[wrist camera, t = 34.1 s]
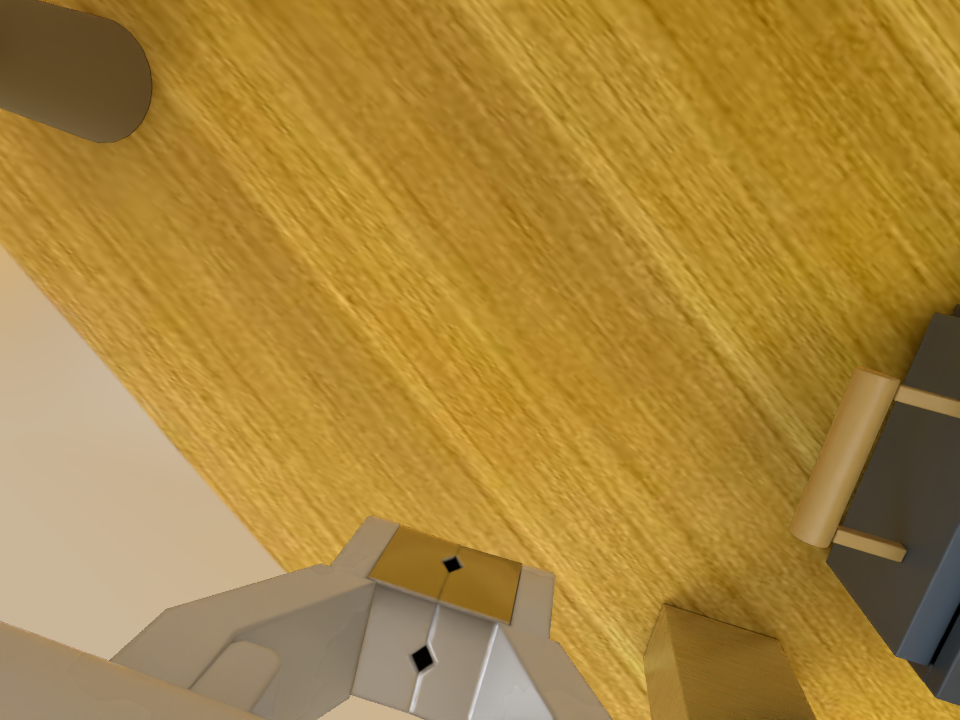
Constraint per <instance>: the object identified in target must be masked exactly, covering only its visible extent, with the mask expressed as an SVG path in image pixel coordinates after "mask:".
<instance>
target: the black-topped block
mask: <svg viewBox="0 0 960 720" xmlns="http://www.w3.org/2000/svg"><path fill="white" fill-rule="evenodd" d="M643 662H644V669H645V676H646V683H647V690H648V698H649V705H650V712H651V719H652V720H817V719H816V717H815V715H814V713H813V711H812V709H811V707H810V705H809V702H808V700H807V698H806V696H805V694H804V692H803V690H802V688H801V686H800V684H799V682H798V680H797V677H796V675H795V673H794V671H793V669H792V667H791V665H790V663H789V661H788V659H787V657H786V655H785V652H784V650H783V648H782V646H781V644H780V642H779V641H778V640H776V639H773V638H770V637H767V636H764V635H761V634H758V633H754V632H751V631H748V630H745V629H742V628H739V627H736V626H732V625H729V624H726V623H723V622H720V621H717V620H714V619H710V618H707V617H704V616H701V615H698V614H695V613H692V612H688V611H685V610H682V609H679V608H676V607H673V606H670V605H666V604H663V605H662V608H661V611H660V613H659V616H658V619H657V621H656V624H655V627H654V630H653V632H652V635H651V638H650V640H649V643H648V646H647V649H646V651H645V654H644V657H643Z"/></svg>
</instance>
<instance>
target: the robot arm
mask: <svg viewBox="0 0 960 720" xmlns="http://www.w3.org/2000/svg"><path fill="white" fill-rule="evenodd" d="M521 565H522V566H521ZM554 584H555V575H554V573H553V572H551V571H547V570H543V569H540V568H536V567H532V566H528V565H525V564H522V563H519V562H515V561H512V560H508V559H505V558H502V557H498V556H495V555H491V554H488V553H484V552H481V551H478V550H474V549H471V548H467V547H464V546H461V545H460V544H457V543H454V542H451V541H448V540H445V539H442V538H439V537H436V536H433V535H430V534H427V533H424V532H421V531H419V530H416V529H413V528H410V527H407V526H404V525H400V523H396V522H393V521H389V520H386V519H383V518H379V517H376V516H373V515H372V516H369V517H367V518H366V519H365V521H364V522H363V523H362V525H361V526H360V527H359V529H358V530H357V531H356V533H355V534H354V535H353V536H352V538H351V539H350V540H349V542H348V543H347V544H346V546H345V547H344V548H343V550H342V551H341V552H340V554H339V555H338V556H337V557H336V559H335V560H334V561H333V563H332V564H331V565H330V566H327V565H324V564H318V565H314V566H311V567H308V568H304V569H301V570H297V571H294V572H291V573H287V574H284V575H280V576H277V577H274V578H270V579H267V580H264V581H260V582H257V583H253V584H250V585H246V586H243V587H240V588H236V589H233V590H229V591H226V592H223V593H219V594H216V595H212V596H209V597H206V598H202V599H199V600H195V601H192V602H189V603H185V604H182V605H178V606H175V607H172V608H168V609H166V610H165V611H164V612H163V613H161V614H160V615H159V616H158V617H157V618H156V619H155V620H154V621H153V622H152V623H150V624H149V625H148V626H147V627H146V628H145V629H144V630H142V631H141V632H140V633H139V634H138V635H137V636H136V637H135V638H134V639H133V640H131V642H129V643H128V644H127V645H126V646H125V647H124V648H123V649H121V650H120V651H119V652H118V653H117V654H116V655H115V656H114V657H113V658H111V659H110V660H109V661H108V660H106V659H103V658H100V657H97V656H95V655H92V654H89V653H87V652H83V651H81V650H78V649H76V648H73V647H70V646H67V645H65V644H62V643H59V642H56V641H54V640H51V639H48V638H45V637H42V636H40V635H37V634H34V633H32V632H29V631H26V630H23V629H21V628H18V627H15V626H12V625H10V624H7V623H4V622H2V621H0V720H317V719H318V718H320V717H321V716H323V715H324V714H326V713H327V712H329V711H330V710H332V709H333V708H335V707H336V706H338V705H340V704H341V703H343V702H344V701H346V700H347V699H349V697H350V695H353V696H356V697H359V698H362V699H365V700H368V701H372V702H375V703H378V704H381V705H384V706H388V707H390V708H394V709H397V710H400V711H403V712H406V713H408V712H409V714H411V715H414V716H416V717H419V718H422V719H424V720H613V719H612V718H611V716H610V715H609V714H608V712H607V711H606V709H605V708H604V706H603V705H602V704H601V702H600V701H599V699H598V698H597V696H596V695H595V694H594V692H593V691H592V689H591V688H590V686H589V685H588V684H587V682H586V681H585V679H584V678H583V676H582V675H581V674H580V672H579V671H578V669H577V668H576V666H575V665H574V663H573V662H572V661H571V659H570V658H569V656H568V655H567V653H566V652H565V651H564V649H563V648H562V646H561V645H560V643H559V642H556V641H553V640H550V639H549V638H550V627H551V616H552V605H553V595H554Z"/></svg>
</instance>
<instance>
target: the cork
mask: <svg viewBox="0 0 960 720" xmlns="http://www.w3.org/2000/svg"><path fill="white" fill-rule="evenodd" d="M151 90H152V83H151V75H150V67H149V64H148V62H147V59H146V57H145V54H144V52H143V49H142V47H141V46H140V45H139V43H138V42H137V41H136V39H135V38H134V37H133V35H132V34H131V33H130V32H129V31H128V30H126V29H125V28H124V27H122V26H121V25H119V24H118V23H117V22H115V21H113V20H109V19H106V18H102V17H99V16H95V15H92V14H88V13H84V12H80V11H76V10H73V9H69V8H65V7H61V6H57V5H54V4H50V3H46V2H42V1H38V0H0V108H2V109H5V110H7V111H10V112H13V113H16V114H18V115H21V116H24V117H27V118H29V119H32V120H35V121H37V122H40V123H43V124H46V125H48V126H51V127H54V128H57V129H59V130H62V131H65V132H68V133H70V134H73V135H76V136H79V137H81V138H84V139H88V140H91V141H94V142H97V143H105V142H116V141H118V140H120V139H122V138H124V137H126V136H129V135H130V134H131V133H132V132H133V131H134V130H135V129H136V128H137V127H138V126H139V125H140V124H141V122H142V120H143V118H144V116H145V114H146V112H147V110H148V108H149V104H150V97H151Z"/></svg>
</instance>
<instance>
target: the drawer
mask: <svg viewBox="0 0 960 720" xmlns="http://www.w3.org/2000/svg"><path fill="white" fill-rule="evenodd" d="M892 400H895V401H896V402H895V404H894V406H893V409H892V411H891V413H890V416H889V418H888V420H887V423H886V425H885V427H884V429H883V432H882V434H881V436H880V439H879V441H878V443H877V446H876V448H875V450H874V452H873V455H872V457H871V459H870V462H869V464H868V466H867V469H866V471H865V473H864V475H863V478H862V480H861V482H860V485H859V487H858V489H857V492H856V494H855V496H854V498H853V501H852V503H851V505H850V508H849V510H848V512H847V515H846V517H845V519H844V521H843V524H842V526H841V525H839V522H840V520H841V518H842V515H843V513H844V511H845V508H846V506H847V504H848V501H849V499H850V497H851V495H852V492H853V490H854V488H855V485H856V483H857V481H858V478H859V476H860V474H861V471H862V469H863V467H864V465H865V462H866V460H867V458H868V455H869V453H870V451H871V448H872V446H873V444H874V441H875V439H876V437H877V435H878V432H879V430H880V428H881V425H882V423H883V421H884V418H885V416H886V414H887V411H888V409H889V407H890V405H891V402H892ZM789 531H790V532H791V533H792V534H793V535H794V536H795V537H796V538H798V539H800V540H801V541H803V542H805V543H807V544H810V545H812V546H816V547H820V548H827V547H829V545H830V543H831V541H832V542H834V544H833V547H832V549H831V551H830V554H829V556H828V558H827V561H826V563H827V564H828V565H829V567H830V568H831V569H832V571H833V572H834V574H835V575H836V576H837V578H838V579H839V580H840V582H841V583H842V584H843V586H844V587H845V588H846V590H847V591H848V593H849V594H850V595H851V597H852V598H853V599H854V601H855V602H856V603H857V605H858V606H859V607H860V609H861V610H862V612H863V613H864V614H865V616H866V617H867V618H868V620H869V621H870V622H871V624H872V625H873V627H874V628H875V629H876V631H877V632H878V633H879V635H880V636H881V637H882V639H883V640H884V641H885V643H886V644H887V646H888V647H889V648H890V650H891V651H892V652H893V654H894V655H895V656H896V657H899V658H902V659H906V660H909V661H912V662H915V663H918V664H921V665H925V666H928V665H929V663H930V661H931V659H932V657H933V655H934V653H935V651H936V649H937V647H938V645H939V643H940V641H941V639H942V637H943V635H944V633H945V632H946V633H947V634H948V635H949V634H950V632H951V630H952V628H953V626H954V624H955V622H956V620H957V618H958V616H959V614H960V318H959V317H954V316H950V315H945V314H941V313H934V314H933V317H932V319H931V321H930V324H929V326H928V328H927V330H926V333H925V335H924V337H923V340H922V342H921V344H920V347H919V349H918V351H917V354H916V356H915V358H914V360H913V363H912V365H911V367H910V370H909V372H908V374H907V377H906V379H905V381H904V383H903V385H902V384H900V380H899V379H898V378H895V377H893V376H890V375H887V374H884V373H881V372H878V371H875V370H871V369H867V368H863V367H855V369H854V371H853V374H852V376H851V379H850V381H849V384H848V386H847V388H846V391H845V393H844V396H843V398H842V401H841V403H840V405H839V408H838V410H837V413H836V415H835V418H834V420H833V422H832V425H831V427H830V430H829V432H828V434H827V437H826V439H825V442H824V444H823V447H822V449H821V451H820V454H819V456H818V459H817V461H816V464H815V466H814V468H813V471H812V473H811V476H810V478H809V481H808V483H807V485H806V488H805V490H804V493H803V495H802V498H801V500H800V502H799V505H798V507H797V510H796V512H795V515H794V517H793V519H792V522H791V524H790V527H789Z"/></svg>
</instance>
